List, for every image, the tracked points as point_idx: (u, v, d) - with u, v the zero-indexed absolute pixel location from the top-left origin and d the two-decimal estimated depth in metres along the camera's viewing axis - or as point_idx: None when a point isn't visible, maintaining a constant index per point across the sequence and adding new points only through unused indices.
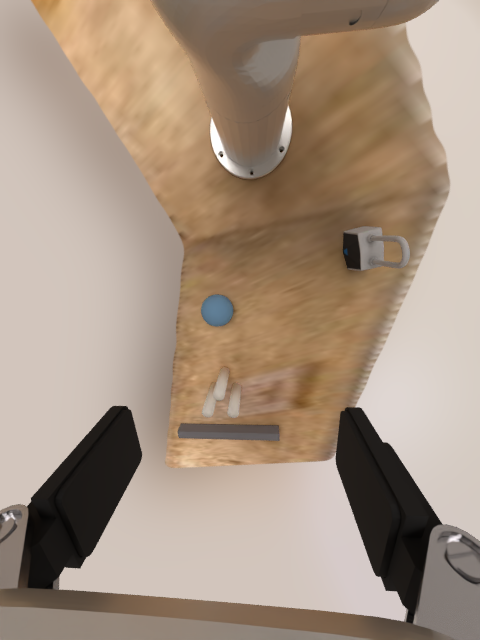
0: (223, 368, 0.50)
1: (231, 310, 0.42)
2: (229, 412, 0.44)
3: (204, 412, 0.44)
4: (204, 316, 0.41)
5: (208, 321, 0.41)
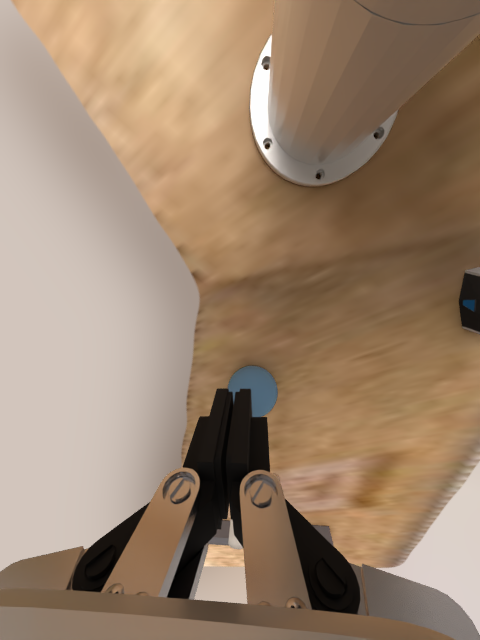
0: None
1: (276, 394, 0.26)
2: None
3: (232, 542, 0.29)
4: None
5: None
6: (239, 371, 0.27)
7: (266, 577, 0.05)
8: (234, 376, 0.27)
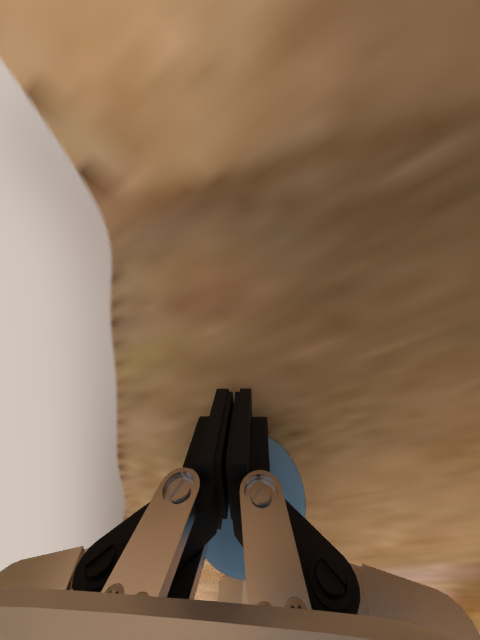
0: None
1: None
2: None
3: None
4: None
5: None
6: None
7: (266, 577, 0.05)
8: None
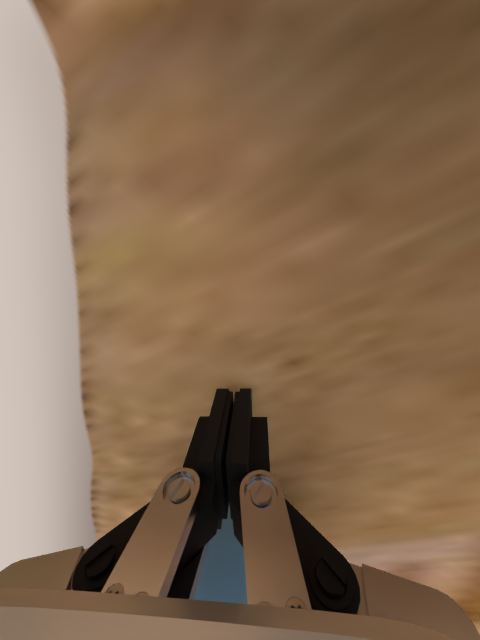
0: None
1: None
2: None
3: None
4: None
5: None
6: None
7: (266, 577, 0.05)
8: None
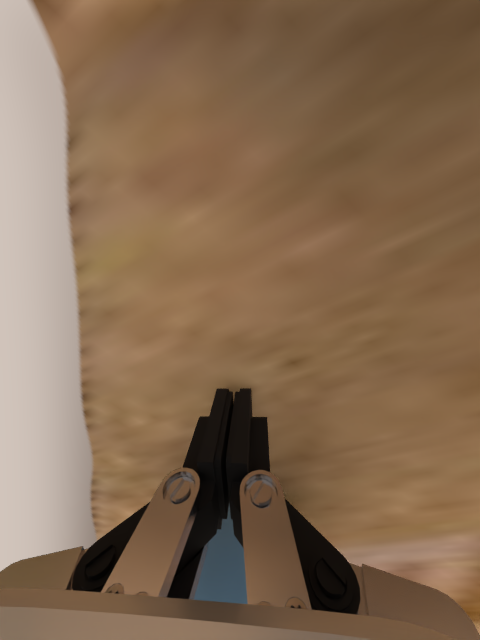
0: None
1: None
2: None
3: None
4: None
5: None
6: None
7: (266, 577, 0.05)
8: None
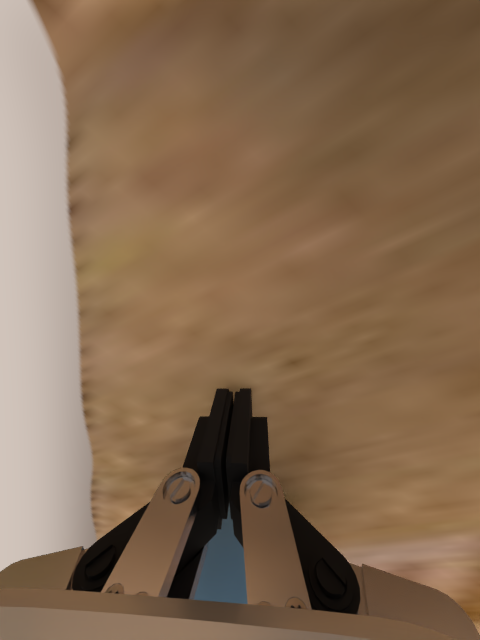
0: None
1: None
2: None
3: None
4: None
5: None
6: None
7: (266, 577, 0.05)
8: None
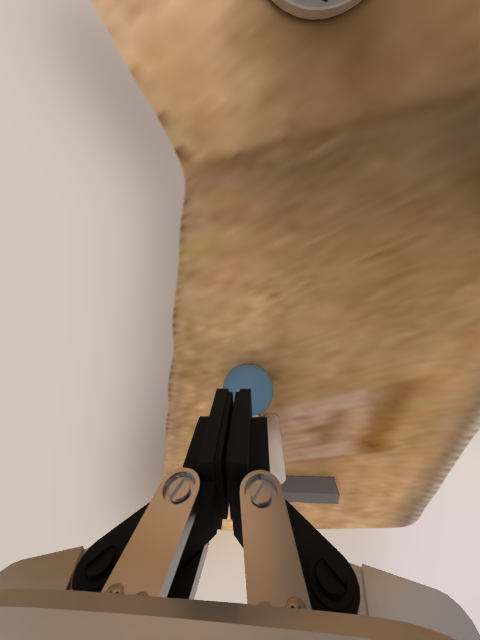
0: None
1: None
2: None
3: None
4: None
5: None
6: None
7: (266, 577, 0.05)
8: None
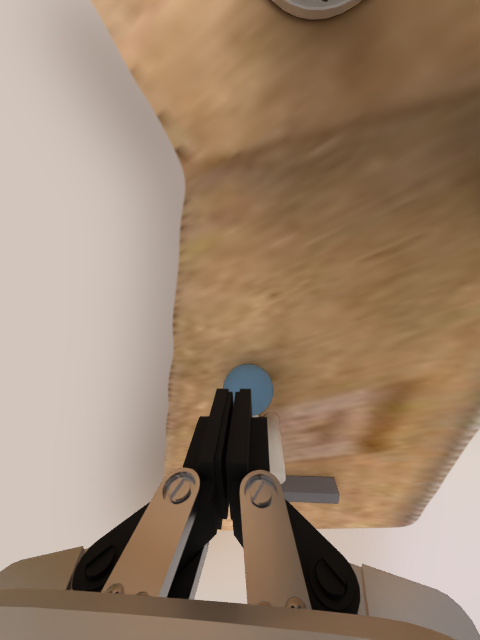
0: None
1: None
2: None
3: None
4: None
5: (237, 366, 0.28)
6: None
7: (266, 577, 0.05)
8: None
